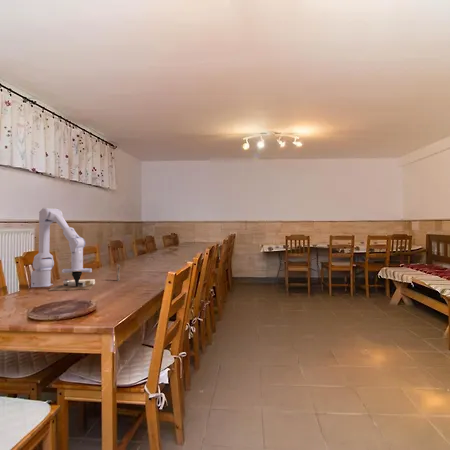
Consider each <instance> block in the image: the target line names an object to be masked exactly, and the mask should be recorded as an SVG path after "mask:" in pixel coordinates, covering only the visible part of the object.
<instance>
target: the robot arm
mask: <svg viewBox="0 0 450 450" xmlns="http://www.w3.org/2000/svg"><path fill="white" fill-rule="evenodd" d="M38 213H39V214H38V253H37V254H35V255H34V257H33V261H32V268H33V269H34V270H32V271H31V272H30V273H31V274H30V288H45V287H46V288H48V287H51V286H52V285H54V283H51V282H52V281H51V278H52V277H51V274H52V271H51V270H52V269H53V268H54V265H55V261H54V255H53V254H52V253H50V248H51V247H50V246H51V245H50V244H51V242H50V237H51V233H50V232H51V231H50V230H51V227H50V226H51V224H53V223H56V224H57V225H58V226H59V228H60V229H61V230H62V234H63V236H64V237H65V239H66V240H67V241H68V247H69V249H70V250H69V251H70V253H71V255H70V256H71V262H70V265H71V267H70V268H62V270H61V273H62V274H64V273H65V274H66V273H69V274H70V273H71V276H72V278H73V280H75V283H76V286H78V282H79V280H81V277H82V274H83V273H92V272H93V269H92V268H91V267H90V268H87V267H85V268H84V248H85V246H86V243H87V242H86V239H85V238H83V237H81V236H80V235H79V233H77V232H76V230H75V228H74V227H72V226H71V227H70V226H69V224H68V223H67V221H66V220H65V218H64V215H63V214H64V213H63V212H62V211H61V209H60V208H51V207H49V208H47V207H42V209H40V211H39V212H38Z"/></svg>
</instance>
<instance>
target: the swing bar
mask: <svg viewBox="0 0 450 450" xmlns="http://www.w3.org/2000/svg"><path fill="white" fill-rule="evenodd" d="M70 280H71V279H68V280H65V279H64V280H63V285H64V286H76V283H75V282H72V281H70ZM78 286H79V287H84V286H85V282H78Z"/></svg>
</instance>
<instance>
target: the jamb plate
mask: <svg viewBox="0 0 450 450" xmlns="http://www.w3.org/2000/svg"><path fill="white" fill-rule="evenodd" d="M64 280H69V279H68V278H66V279H64ZM95 285H96V283H95V284H90V281H85V286H84V287H79V286H64V284H59V285H55V286H52V287H51V288H49V289H47V290H48V292H60V291H61V292H62V291H63V292H64V291H66V292H67V291H88V290H89V291H90V290H91V289H92V288H93V287H95Z"/></svg>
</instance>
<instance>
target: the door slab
mask: <svg viewBox="0 0 450 450" xmlns="http://www.w3.org/2000/svg"><path fill="white" fill-rule="evenodd" d="M69 280H70V281H72V282H75V280H74V279H69ZM85 281H90V284H95V285H96V279H94V278H93V279H92V278H91V279H86V278H85V279H79V282H85Z"/></svg>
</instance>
